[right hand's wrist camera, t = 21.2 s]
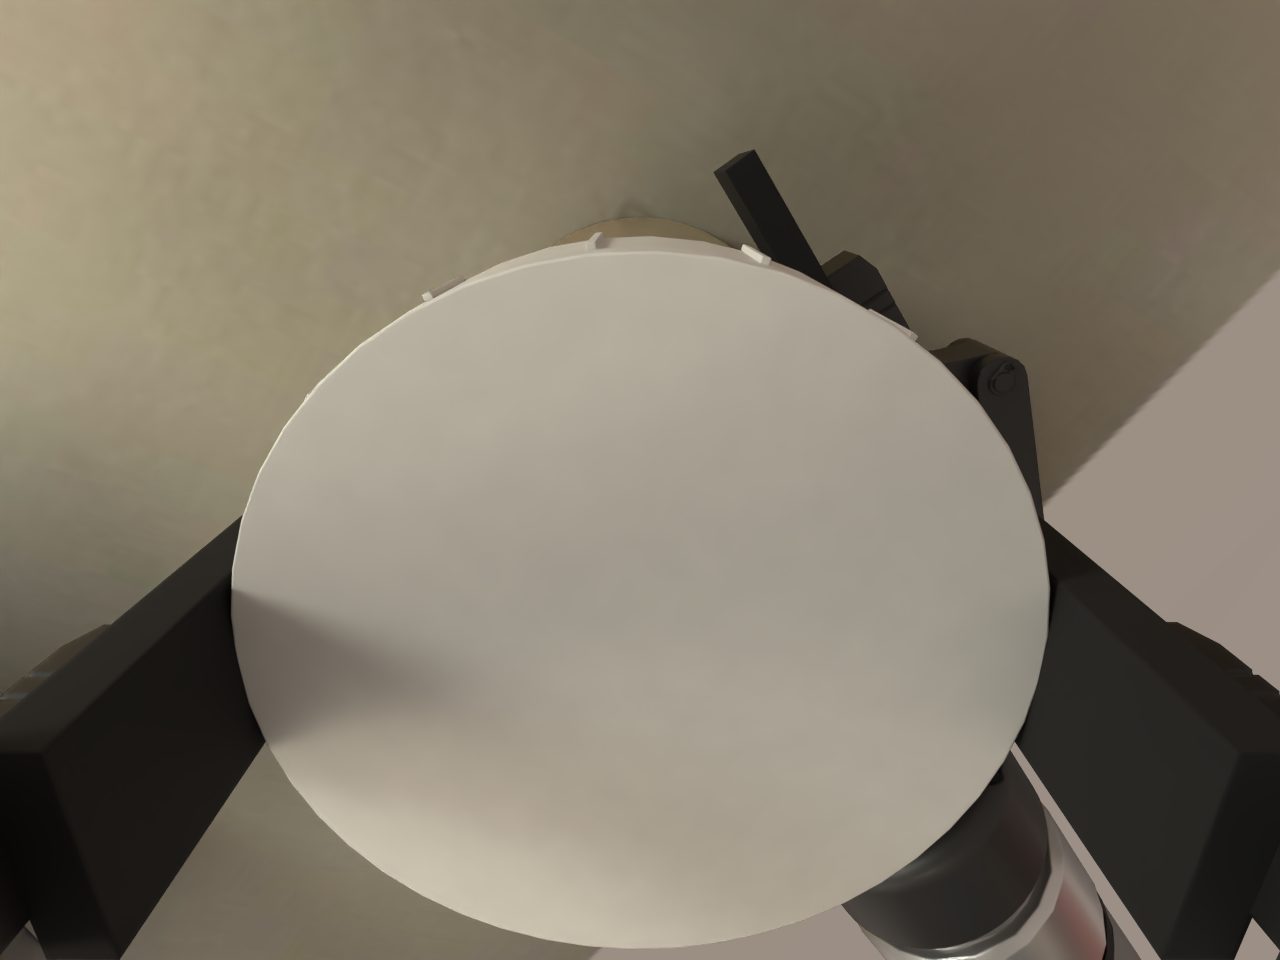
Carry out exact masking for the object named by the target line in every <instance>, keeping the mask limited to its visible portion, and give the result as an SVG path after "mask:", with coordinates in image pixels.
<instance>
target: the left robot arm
mask: <svg viewBox="0 0 1280 960" xmlns="http://www.w3.org/2000/svg"><path fill="white" fill-rule="evenodd" d="M714 174H715V176H716V178H717V179H718V181H719V183H720V184H721V186H722V188H723V189H724V191H725V193H726V194H727V196H728V198H729V199H730V201H731V203H732V204H733V206H734V208H735V210H736V211H737V213H738V215H739V216H740V218H741V220H742V221H743V223H744V225H745V226H746V228H747V230H748V231H749V233H750V235H751V236H752V238H753V240H754V242H755V243H756V245H757V247H758V248H759V250H760V252H761V253H763V254H765V255H766V256H768V257H770V258H771V261H774V262H776V263H779V264H781V265H784V266H786V267H789V268H791V269H794V270H796V271H799V272H801V273H803V274H805V275H806V276H808V277H810V278H812V279H814V280H815V281H817V282H819V283H821V284H823V285H825V286H826V287H828V288H830V289H832V290H834V291H835V292H837V293H839V294H841V295H843V296H844V297H846V298H848V299H850V300H851V301H853V302H855V303H857V304H858V305H860V306H862V307H864V308H865V309H867V310H869V309H872V310H873V311H875V312H877V313H879V314H881V315H883V316H884V317H886V318H888V319H890V320H892V321H894V322H896V323H897V324H899V325H901V326H903V327H905V328H907V329H908V330H910V329H909V327H908V325H907V323H906V322H905V320H904V318H903V316H902V314H901V312H900V310H899V309H898V307H897V305H896V304H895V301H894V299H893V298H892V296H891V294H890V292H889V291H888V289H887V286H886V285H885V283H884V281H883V279H882V277H881V275H880V274H879V272H878V270H877V268H875V267H874V266H873V265H871V264H870V263H869V262H867V261H866V260H865V259H863V258H862V257H861V256H859V255H856V254H853V253H850V252H847V251H843V252H841V253H840V254H838V255H837V256H835V257H834V258H832V259H831V260H829V261H828V262H826V263H825V264H823V265H822V266H820V264H819V262H818V260H817V259H816V257H815V255H814V253H813V252H812V250H811V248H810V246H809V245H808V243H807V241H806V239H805V238H804V236H803V234H802V232H801V231H800V229H799V227H798V225H797V224H796V222H795V220H794V218H793V217H792V215H791V213H790V211H789V209H788V208H787V206H786V204H785V202H784V201H783V199H782V197H781V195H780V194H779V192H778V190H777V188H776V187H775V185H774V183H773V181H772V180H771V178H770V176H769V174H768V173H767V171H766V169H765V167H764V166H763V164H762V162H761V160H760V158H759V157H758V155H757V153H756V151H755V150H751V151H748V152H744V153H741V154H738V155H737V156H736V157H734V158H733V159H731V160H730V161H729V162H727V163H726V164H724V165H723V166H722V167H720V168H719V169H717V170H716V171H715V172H714ZM915 342H916V340H915ZM928 352H929V353H931V354H932V355H933V356H934V357H936V358H937V359H938V360H940V361H941V362H942V363H943V365H944V366H945V367H946V368H947V369H948V370H949V371H950V372H951V373H952V374H953V375H954V376H955V377H956V378H957V379H958V380H959V382H960V383H961V384H962V385H963V386H964V387H965V388H966V389H967V390H968V391H969V392H970V393H971V394H972V395H973V396H974V398H975V399H976V400H977V401H978V402H979V403H980V405H981V406H982V408H983V409H984V411H985V412H986V413H987V415H988V416H989V418H990V419H991V421H992V422H993V424H994V425H995V427H996V428H997V430H998V431H999V433H1000V434H1001V435H1002V437H1003V438H1004V440H1005V441H1006V443H1007V444H1008V446H1009V448H1010V450H1011V452H1012V454H1013V456H1014V458H1015V460H1016V462H1017V465H1018V467H1019V469H1020V471H1021V473H1022V475H1023V477H1024V479H1025V482H1026V484H1027V486H1028V488H1029V490H1030V492H1031V495H1032V499H1033V502H1034V506H1035V509H1036V513H1037V515H1039V516H1040V517H1041V518H1042V519H1043V520H1044V515H1043V507H1042V498H1041V489H1040V481H1039V472H1038V464H1037V455H1036V447H1035V438H1034V429H1033V421H1032V412H1031V404H1030V395H1029V387H1028V378H1027V373H1026V370H1025V367H1024V365H1022V364H1021V363H1020V362H1019V361H1018V360H1017V359H1015V358H1012V357H1010V356H1008V355H1006V354H1004V353H1002V352H1000V351H997V350H995V349H993V348H991V347H989V346H987V345H985V344H982V343H980V342H978V341H976V340H973V339H970V338H963V339H958V340H956V341H954V342H952V343H950V344H949V345H948V346H947V347H946V348H942V349H938V350H934V351H928ZM841 905H842V906H843V907H844V908H845V910H846V911H847V912H848V913H849V914H850V915H851V917H852V918H853V919H854V920H855V921H856V922H857V923H858V924H859V926H860V928H861V930H862V932H863V933H864V934H865V935H866V937H867V938H868V939H869V940H870V941H871V943H872V944H873V945H874V946H875V947H876V948H877V950H878V951H879V952H880V953H881V954H882V956H883V957H884V958H885V959H886V960H1141V959H1140V957H1139V956H1138V954H1137V952H1136V951H1135V949H1134V948H1133V947H1132V945H1131V943H1130V942H1129V941H1128V939H1127V938H1126V936H1125V935H1124V933H1123V932H1122V930H1121V929H1120V927H1119V926H1118V924H1117V923H1116V921H1115V920H1114V918H1113V917H1112V915H1111V914H1110V912H1109V911H1108V909H1107V908H1106V906H1105V905H1104V903H1103V901H1102V899H1101V898H1100V896H1099V894H1098V893H1097V891H1096V888H1095V885H1094V883H1093V881H1092V880H1091V878H1090V877H1089V875H1088V873H1087V872H1086V870H1085V869H1084V867H1083V866H1082V864H1081V862H1080V861H1079V859H1078V858H1077V856H1076V854H1075V853H1074V851H1073V849H1072V848H1071V846H1070V845H1069V843H1068V841H1067V840H1066V838H1065V837H1064V835H1063V833H1062V832H1061V830H1060V829H1059V827H1058V826H1057V824H1056V822H1055V821H1054V819H1053V818H1052V816H1051V814H1050V813H1049V811H1048V810H1047V809H1046V807H1045V806H1044V805H1043V804H1042V803H1041V801H1040V799H1039V797H1038V795H1037V793H1036V791H1035V789H1034V788H1033V786H1032V784H1031V783H1030V781H1029V779H1028V778H1027V776H1026V775H1025V773H1024V771H1023V770H1022V768H1021V767H1020V765H1019V763H1018V762H1017V760H1016V759H1015V757H1014V755H1013V754H1012V752H1011V751H1009V753H1008V755H1007V757H1006V759H1005V761H1004V762H1003V763H1002V765H1001V766H1000V768H999V769H998V771H997V772H996V773H995V775H994V776H993V778H992V779H991V781H990V782H989V783H988V785H987V786H986V788H985V789H984V791H983V792H982V793H981V795H980V796H979V797H978V799H977V800H976V801H975V802H974V803H973V804H972V805H971V806H970V807H969V809H968V810H967V811H966V812H965V813H964V814H963V815H962V816H961V817H960V818H959V820H958V821H957V822H956V823H955V824H954V825H953V826H952V827H951V828H950V829H949V830H948V831H947V832H946V833H945V834H944V835H943V836H941V837H940V838H939V839H938V840H937V841H936V842H934V843H933V844H932V845H931V846H930V847H929V848H928V849H926V850H925V851H924V852H923V853H922V854H921V855H920V856H918V857H917V858H916V859H914V860H913V861H912V862H910V863H909V864H907V865H906V866H904V867H903V868H902V869H900V870H899V871H897V872H896V873H894V874H893V875H891V876H890V877H889V878H887V879H886V880H884V881H883V882H881V883H880V884H878V885H876V886H874V887H872V888H870V889H869V890H867V891H865V892H863V893H861V894H860V895H858V896H856V897H854V898H852V899H850V900H849V901H847V902H845V903H843V904H841ZM2 957H3V959H4V960H47V959H46V957H45V955H44V953H43V950H42V948H41V946H40V943H39V941H38V939H37V936H36V934H35V932H34V929H33V927H32V925H31V922H30V920H29V921H28V922H27V924H26V925H25V926H24V927H23V928H22V930H21V931H20V932H19V933H18V935H17V936H16V937H15V938H14V939H13V941H12V942H11V943H10V944H9V945H8V947H7V948H6V949H5V950H4V951H3V953H2Z"/></svg>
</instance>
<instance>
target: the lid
mask: <svg viewBox="0 0 1280 960" xmlns="http://www.w3.org/2000/svg"><path fill="white" fill-rule="evenodd" d="M422 297H423V298H424V300H425V302H424V303H423V304H421V305H419V306H417V307H415V308H413V309H412V310H410V311H408V312H407V313H405V314H404V315H402V316H401V317H399V318H398V319H396V320H395V321H394V322H392V323H391V324H389V325H388V326H386V327H385V328H383V329H382V330H380V331H379V332H378V333H376V334H375V335H373V336H372V337H370V338H369V339H367V340H366V341H364V342H363V343H362V344H360V345H359V346H358V347H357V348H356V349H355V350H353V351H352V352H351V353H350V354H349V355H348V356H347V357H346V358H345V359H344V360H343V361H342V362H341V363H340V364H338V365H337V366H336V367H335V368H334V369H333V370H332V371H331V372H330V373H329V374H328V375H327V376H326V377H325V378H324V379H322V380H321V381H320V382H319V383H318V384H317V385H316V387H315V388H314V389H313V391H311V392H310V393H308V394H307V395H306V397H305V398H304V400H305V401H304V402H303V403H302V405H301V406H300V407H299V408H298V410H297V411H296V412H295V413H294V415H293V416H292V417H291V419H290V420H289V421H288V422H287V424H286V425H285V426H284V428H283V430H282V431H281V433H280V435H279V437H278V439H277V440H276V442H275V444H274V446H273V447H272V449H271V451H270V453H269V455H268V456H267V458H266V460H265V462H264V464H263V465H262V467H261V469H260V471H259V473H258V475H257V478H256V481H255V484H254V486H253V489H252V492H251V495H250V497H249V500H248V503H247V506H246V509H245V511H244V514H243V517H242V520H241V525H240V530H239V535H238V541H237V546H236V551H235V556H234V562H233V567H232V596H231V620H232V627H233V635H234V643H235V649H236V653H237V658H238V663H239V667H240V671H241V675H242V678H243V682H244V686H245V690H246V694H247V698H248V702H249V705H250V707H251V709H252V712H253V714H254V716H255V718H256V720H257V723H258V725H259V727H260V729H261V732H262V734H263V736H264V738H265V741H266V743H267V745H268V746H269V748H270V750H271V751H272V753H273V755H274V756H275V758H276V759H277V761H278V763H279V764H280V766H281V767H282V769H283V771H284V772H285V774H286V775H287V777H288V779H289V780H290V782H291V783H292V784H293V786H294V787H295V788H296V789H297V790H298V792H299V793H300V794H301V795H302V797H303V798H304V799H305V800H306V801H307V803H308V804H309V805H310V806H311V808H312V809H313V810H314V811H315V813H316V814H317V815H318V816H319V817H320V818H321V819H322V820H323V821H324V822H325V823H326V824H327V825H328V826H329V827H330V828H331V829H332V830H333V831H334V832H336V833H337V834H338V835H339V836H340V837H341V838H342V839H343V840H344V841H345V842H346V843H347V844H348V845H349V846H350V847H352V848H353V849H354V850H355V851H357V852H358V853H359V854H361V855H362V856H363V857H365V858H366V859H367V860H368V861H370V862H371V863H372V864H374V865H375V866H376V867H378V868H379V869H380V870H382V871H383V872H384V873H386V874H387V875H389V876H391V877H392V878H394V879H396V880H397V881H399V882H401V883H402V884H404V885H406V886H407V887H409V888H411V889H412V890H414V891H415V892H417V893H419V894H420V895H422V896H424V897H426V898H429V899H431V900H433V901H435V902H437V903H439V904H441V905H443V906H445V907H447V908H450V909H452V910H454V911H456V912H458V913H460V914H463V915H466V916H468V917H471V918H474V919H477V920H479V921H482V922H485V923H488V924H491V925H493V926H496V927H499V928H502V929H506V930H509V931H513V932H517V933H521V934H525V935H529V936H533V937H537V938H541V939H545V940H551V941H558V942H564V943H570V944H577V945H583V946H592V947H608V948H623V949H651V948H678V947H686V946H695V945H704V944H712V943H719V942H724V941H729V940H733V939H738V938H743V937H748V936H752V935H757V934H761V933H765V932H768V931H771V930H774V929H778V928H781V927H784V926H787V925H790V924H793V923H797V922H800V921H803V920H805V919H808V918H810V917H812V916H815V915H817V914H819V913H822V912H824V911H827V910H829V909H831V908H834V907H836V906H838V905H841V904H843V903H845V902H847V901H849V900H850V899H852V898H854V897H856V896H858V895H860V894H861V893H863V892H865V891H867V890H869V889H870V888H872V887H874V886H876V885H878V884H880V883H881V882H883V881H884V880H886V879H887V878H889V877H890V876H891V875H893V874H894V873H896V872H897V871H899V870H900V869H902V868H903V867H904V866H906V865H907V864H909V863H910V862H912V861H913V860H914V859H916V858H917V857H918V856H920V855H921V854H922V853H923V852H924V851H925V850H926V849H928V848H929V847H930V846H931V845H932V844H933V843H934V842H936V841H937V840H938V839H939V838H940V837H941V836H943V835H944V834H945V833H946V832H947V831H948V830H949V829H950V828H951V827H952V826H953V825H954V824H955V823H956V822H957V821H958V820H959V818H960V817H961V816H962V815H963V814H964V813H965V812H966V811H967V810H968V809H969V807H970V806H971V805H972V804H973V803H974V802H975V801H976V800H977V799H978V797H979V796H980V795H981V793H982V792H983V791H984V789H985V788H986V786H987V785H988V783H989V782H990V781H991V779H992V778H993V776H994V775H995V773H996V772H997V771H998V769H999V768H1000V766H1001V765H1002V763H1003V762H1004V761H1005V759H1006V757H1007V755H1008V753H1009V751H1010V749H1011V747H1012V745H1013V743H1014V741H1015V739H1016V737H1017V736H1018V734H1019V732H1020V730H1021V728H1022V726H1023V724H1024V722H1025V719H1026V717H1027V714H1028V711H1029V708H1030V705H1031V703H1032V700H1033V697H1034V693H1035V690H1036V686H1037V682H1038V678H1039V674H1040V669H1041V665H1042V661H1043V656H1044V652H1045V648H1046V643H1047V639H1048V630H1049V605H1050V584H1049V575H1048V567H1047V558H1046V550H1045V542H1044V537H1043V534H1042V530H1041V527H1040V523H1039V520H1038V516H1037V513H1036V509H1035V506H1034V502H1033V499H1032V495H1031V492H1030V490H1029V488H1028V486H1027V484H1026V482H1025V479H1024V477H1023V475H1022V473H1021V471H1020V469H1019V467H1018V465H1017V462H1016V460H1015V458H1014V456H1013V454H1012V452H1011V450H1010V448H1009V446H1008V444H1007V443H1006V441H1005V440H1004V438H1003V437H1002V435H1001V434H1000V433H999V431H998V430H997V428H996V427H995V425H994V424H993V422H992V421H991V419H990V418H989V416H988V415H987V413H986V412H985V411H984V409H983V408H982V406H981V405H980V403H979V402H978V401H977V400H976V399H975V398H974V396H973V395H972V394H971V393H970V392H969V391H968V390H967V389H966V388H965V387H964V386H963V385H962V384H961V383H960V382H959V380H958V379H957V378H956V377H955V376H954V375H953V374H952V373H951V372H950V371H949V370H948V369H947V368H946V367H945V366H944V365H943V363H942V362H941V361H940V360H938V359H937V358H936V357H934V356H933V355H932V354H931V353H929V352H928V351H927V350H926V349H924V348H923V347H922V346H920V345H919V344H918V343H917V342H915V340H916V339H917V338H918V336H917V335H916V334H915V333H914V332H912V331H910V330H908V329H907V328H905V327H903V326H901V325H899V324H897V323H896V322H894V321H892V320H890V319H888V318H886V317H884V316H883V315H881V314H879V313H877V312H875V311H873V310H872V309H869V310H867V309H865V308H864V307H862V306H860V305H858V304H857V303H855V302H853V301H851V300H850V299H848V298H846V297H844V296H843V295H841V294H839V293H837V292H835V291H834V290H832V289H830V288H828V287H826V286H825V285H823V284H821V283H819V282H817V281H815V280H814V279H812V278H810V277H808V276H806V275H805V274H803V273H801V272H799V271H796V270H794V269H791V268H789V267H786V266H784V265H781V264H779V263H776V262H774V261H771V258H770V257H768V256H766V255H765V254H763V253H761V252H759V251H758V250H756V249H754V248H752V247H751V246H748V245H744V244H743V246H742V249H741V250H737V249H733V248H729V247H725V246H721V245H716V244H712V243H708V242H704V241H695V240H685V239H675V238H665V237H655V236H643V237H618V238H603V232H598V233H595V234H594V235H593V236H592V237H591V238H590V239H589V240H587V241H581V242H576V243H570V244H565V245H559V246H553V247H548V248H545V249H542V250H539V251H536V252H533V253H530V254H527V255H524V256H521V257H518V258H515V259H512V260H509V261H506V262H503V263H500V264H498V265H496V266H494V267H492V268H490V269H488V270H486V271H484V272H482V273H480V274H478V275H476V276H473V277H471V278H469V279H467V280H466V279H465V277H464V275H460V276H458V277H456V278H454V279H452V280H450V281H449V282H447V283H445V284H443V285H441V286H439V287H437V288H435V289H433V290H431V291H429V292H427V293H425V294H423V295H422Z"/></svg>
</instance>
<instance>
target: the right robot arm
mask: <svg viewBox="0 0 1280 960" xmlns="http://www.w3.org/2000/svg"><path fill="white" fill-rule="evenodd" d="M1037 516H1038V520H1039V523H1040V527H1041V530H1042V534H1043V537H1044V542H1045V550H1046V558H1047V567H1048V575H1049V584H1050V605H1049V630H1048V639H1047V643H1046V648H1045V652H1044V656H1043V661H1042V665H1041V669H1040V674H1039V678H1038V682H1037V686H1036V690H1035V693H1034V697H1033V700H1032V703H1031V705H1030V708H1029V711H1028V714H1027V717H1026V719H1025V722H1024V724H1023V726H1022V728H1021V730H1020V732H1019V734H1018V736H1017V737H1016V739H1015V743H1016V744H1017V745H1018V747H1019V749H1020V750H1021V752H1022V753H1023V755H1024V756H1025V758H1026V759H1027V760H1028V762H1029V763H1030V765H1031V766H1032V768H1033V769H1034V771H1035V772H1036V774H1037V775H1038V777H1039V778H1040V780H1041V781H1042V783H1043V784H1044V786H1045V787H1046V789H1047V790H1048V792H1049V793H1050V795H1051V796H1052V798H1053V799H1054V801H1055V802H1056V804H1057V805H1058V807H1059V808H1060V810H1061V811H1062V813H1063V814H1064V816H1065V817H1066V819H1067V820H1068V822H1069V823H1070V825H1071V826H1072V828H1073V829H1074V831H1075V832H1076V834H1077V835H1078V837H1079V838H1080V840H1081V841H1082V843H1083V844H1084V846H1085V847H1086V848H1087V850H1088V851H1089V853H1090V854H1091V856H1092V857H1093V859H1094V860H1095V862H1096V863H1097V865H1098V866H1099V868H1100V869H1101V871H1102V872H1103V874H1104V875H1105V877H1106V878H1107V880H1108V881H1109V883H1110V884H1111V886H1112V887H1113V889H1114V890H1115V892H1116V893H1117V895H1118V896H1119V898H1120V899H1121V901H1122V902H1123V904H1124V905H1125V907H1126V908H1127V910H1128V911H1129V913H1130V914H1131V916H1132V917H1133V919H1134V920H1135V922H1136V923H1137V925H1138V926H1139V928H1140V929H1141V931H1142V932H1143V933H1144V935H1145V936H1146V938H1147V939H1148V941H1149V942H1150V944H1151V945H1152V947H1153V948H1154V950H1155V951H1156V953H1157V954H1158V956H1159V957H1160V959H1161V960H1234V959H1235V956H1236V954H1237V952H1238V949H1239V947H1240V945H1241V942H1242V940H1243V938H1244V935H1245V933H1246V931H1247V929H1248V926H1249V924H1250V922H1251V919H1252V918H1253V919H1254V920H1255V921H1256V922H1257V923H1258V925H1259V926H1260V927H1261V928H1262V929H1263V931H1264V932H1265V933H1266V934H1267V936H1268V937H1269V938H1270V939H1271V940H1272V942H1273V943H1274V944H1275V945H1276V946H1277V948H1278V949H1279V950H1280V694H1279V691H1278V690H1277V689H1276V688H1275V687H1273V686H1272V685H1271V684H1269V683H1268V682H1267V681H1266V680H1264V679H1263V678H1262V677H1261V676H1259V675H1253V673H1252V669H1251V668H1249V667H1248V666H1247V665H1246V664H1244V663H1243V662H1242V661H1241V660H1239V659H1238V658H1237V657H1236V656H1234V655H1233V654H1232V653H1231V652H1229V651H1228V650H1227V649H1225V648H1224V647H1223V646H1222V645H1220V644H1219V643H1217V642H1215V641H1213V640H1211V639H1209V638H1207V637H1205V636H1203V635H1201V634H1199V633H1197V632H1195V631H1193V630H1192V629H1189V628H1188V627H1186V626H1184V625H1182V624H1180V623H1178V622H1166V621H1164V620H1163V619H1162V618H1161V617H1160V616H1158V615H1157V614H1156V613H1155V612H1153V611H1152V610H1151V609H1150V608H1149V607H1148V606H1146V605H1145V604H1144V603H1143V602H1142V601H1140V600H1139V599H1138V598H1137V597H1136V596H1134V595H1133V594H1132V593H1131V592H1130V591H1128V590H1127V589H1126V588H1125V587H1124V586H1122V585H1121V584H1120V583H1119V582H1118V581H1116V580H1115V579H1114V578H1113V577H1112V576H1110V575H1109V574H1108V573H1107V572H1106V571H1104V570H1103V569H1102V568H1101V567H1100V566H1098V565H1097V564H1096V563H1095V562H1094V561H1092V560H1091V559H1090V558H1089V557H1088V556H1086V555H1085V554H1084V553H1083V552H1082V551H1080V550H1079V549H1078V548H1077V547H1076V546H1074V545H1073V544H1072V543H1071V542H1070V541H1068V540H1067V539H1066V538H1065V537H1064V536H1062V535H1061V534H1060V533H1059V532H1058V531H1056V530H1055V529H1054V528H1053V527H1052V526H1050V525H1049V524H1048V523H1047V522H1046V521H1044V520H1043V519H1042V518H1041V517H1040V516H1039V515H1037ZM242 517H243V515H242V516H241V517H240V518H238V519H237V520H236V521H235V522H234V523H232V524H231V525H230V526H229V527H228V528H226V529H225V530H224V531H223V532H222V533H220V534H219V535H218V536H217V537H216V538H214V539H213V540H212V541H211V542H210V543H208V544H207V545H206V546H205V547H204V548H202V549H201V550H200V551H199V552H198V553H196V554H195V555H194V556H193V557H192V558H191V559H189V560H188V561H187V562H186V563H185V564H183V565H182V566H181V567H180V568H179V569H177V570H176V571H175V572H174V573H173V574H171V575H170V576H169V577H168V578H167V579H165V580H164V581H163V582H162V583H161V584H159V585H158V586H157V587H156V588H155V589H153V590H152V591H151V592H150V593H149V594H147V595H146V596H145V597H144V598H143V599H141V600H140V601H139V602H138V603H137V604H135V605H134V606H133V607H132V608H131V609H129V610H128V611H127V612H126V613H125V614H123V615H122V616H121V617H120V618H119V619H117V620H116V621H115V622H114V623H113V624H111V625H103V626H101V627H99V628H97V629H95V630H93V631H91V632H89V633H87V634H85V635H83V636H81V637H79V638H77V639H76V640H74V641H72V642H70V643H68V644H66V645H64V646H62V647H61V648H59V649H58V650H57V651H56V652H54V653H53V654H52V655H51V656H49V657H48V658H47V659H46V660H44V661H43V662H42V663H41V664H39V665H38V666H37V667H36V668H34V669H33V670H32V671H31V672H30V675H29V677H28V678H22V679H21V680H19V681H18V682H17V683H16V684H14V685H13V686H12V687H11V688H9V689H8V690H7V691H6V692H4V693H3V694H2V696H3V697H2V699H1V700H0V960H4V959H3V957H2V953H3V951H4V950H5V949H6V948H7V947H8V945H9V944H10V943H11V942H12V941H13V939H14V938H15V937H16V936H17V935H18V933H19V932H20V931H21V930H22V928H23V927H24V926H25V925H26V924H27V922H28V921H29V920H30V922H31V925H32V927H33V929H34V932H35V934H36V936H37V939H38V941H39V943H40V946H41V948H42V950H43V953H44V955H45V957H46V959H47V960H120V958H121V957H122V955H123V954H124V952H125V951H126V949H127V948H128V946H129V945H130V943H131V942H132V940H133V939H134V937H135V936H136V934H137V933H138V931H139V930H140V928H141V927H142V925H143V924H144V922H145V921H146V919H147V918H148V916H149V915H150V913H151V912H152V910H153V909H154V907H155V906H156V904H157V903H158V901H159V900H160V898H161V897H162V895H163V894H164V892H165V891H166V889H167V888H168V887H169V885H170V884H171V882H172V881H173V879H174V878H175V876H176V875H177V873H178V872H179V870H180V869H181V867H182V866H183V864H184V863H185V861H186V860H187V858H188V857H189V855H190V854H191V852H192V851H193V849H194V848H195V846H196V845H197V843H198V842H199V840H200V839H201V837H202V836H203V834H204V833H205V831H206V830H207V828H208V827H209V825H210V824H211V822H212V821H213V819H214V818H215V816H216V815H217V813H218V812H219V810H220V809H221V807H222V806H223V804H224V803H225V801H226V800H227V799H228V797H229V796H230V794H231V793H232V791H233V790H234V788H235V787H236V785H237V784H238V782H239V781H240V779H241V778H242V776H243V775H244V773H245V772H246V770H247V769H248V767H249V766H250V764H251V763H252V761H253V760H254V758H255V757H256V755H257V754H258V752H259V751H260V749H261V748H262V746H263V745H264V743H265V742H266V741H265V738H264V736H263V734H262V732H261V729H260V727H259V725H258V723H257V720H256V718H255V716H254V714H253V712H252V709H251V707H250V705H249V702H248V698H247V694H246V690H245V686H244V682H243V678H242V675H241V671H240V667H239V663H238V658H237V653H236V649H235V643H234V635H233V627H232V620H231V596H232V567H233V562H234V556H235V551H236V546H237V541H238V535H239V530H240V525H241V520H242ZM1276 960H1280V952H1279V954H1278V957H1277V959H1276Z"/></svg>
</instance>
